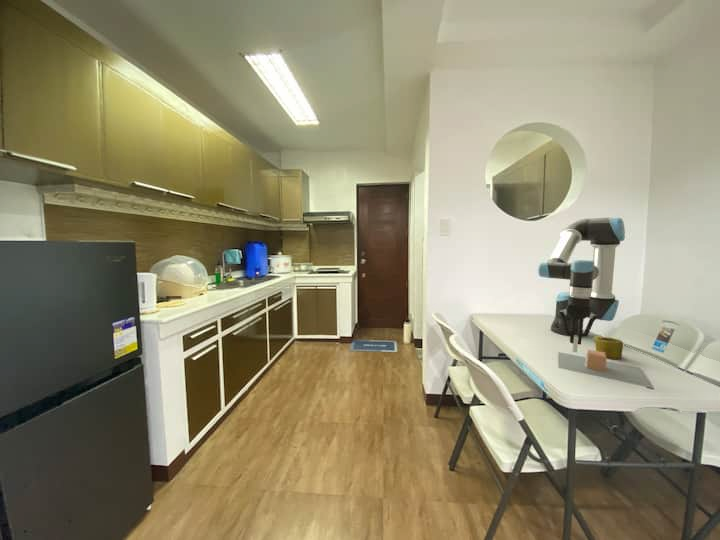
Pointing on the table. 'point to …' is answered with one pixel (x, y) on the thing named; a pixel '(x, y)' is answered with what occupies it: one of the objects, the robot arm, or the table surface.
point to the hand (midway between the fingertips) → (574, 350)
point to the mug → (609, 347)
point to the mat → (611, 370)
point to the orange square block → (595, 360)
